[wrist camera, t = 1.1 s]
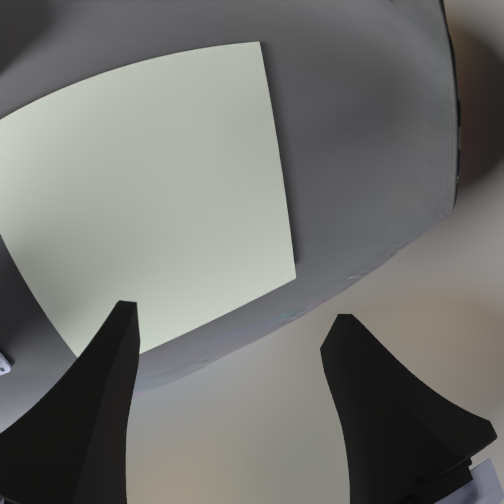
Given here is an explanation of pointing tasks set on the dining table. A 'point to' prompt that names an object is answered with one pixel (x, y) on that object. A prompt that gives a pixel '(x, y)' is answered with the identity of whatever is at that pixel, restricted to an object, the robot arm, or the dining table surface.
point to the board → (148, 194)
